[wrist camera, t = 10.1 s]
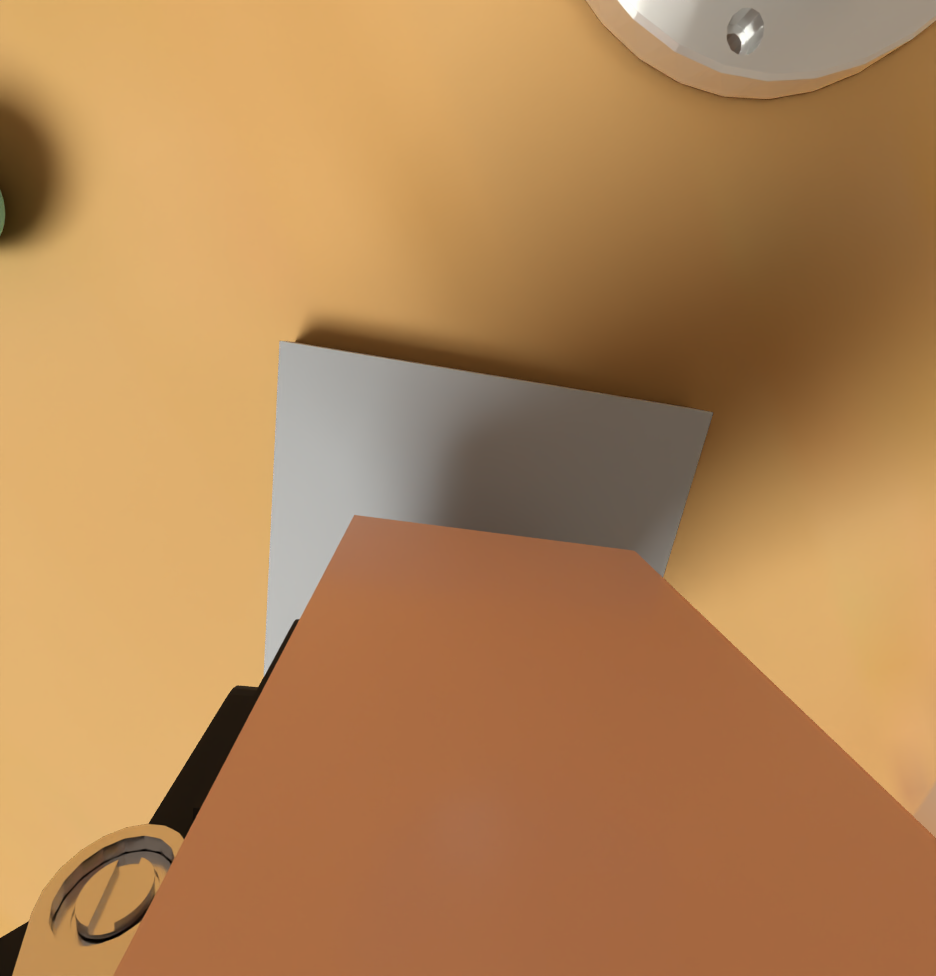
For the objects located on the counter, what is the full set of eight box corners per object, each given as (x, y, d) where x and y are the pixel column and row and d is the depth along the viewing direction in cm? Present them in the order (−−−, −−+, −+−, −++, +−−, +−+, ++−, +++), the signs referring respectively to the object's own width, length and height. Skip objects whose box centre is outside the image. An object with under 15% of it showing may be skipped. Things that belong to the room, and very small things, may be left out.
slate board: (293, 342, 13) (279, 341, 12) (690, 407, 14) (713, 412, 13) (274, 694, 16) (261, 720, 15) (599, 722, 17) (610, 748, 16)
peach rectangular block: (354, 514, 10) (66, 1065, 2) (634, 550, 11) (1170, 1062, 3) (330, 754, 11) (116, 1551, 4) (574, 771, 12) (811, 1474, 4)
